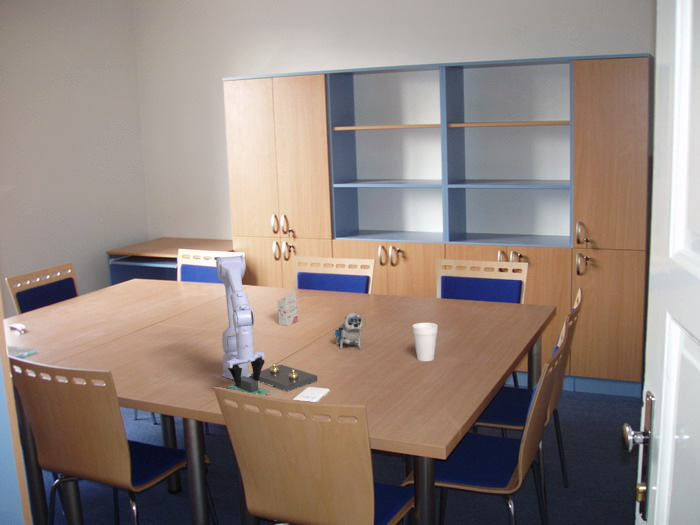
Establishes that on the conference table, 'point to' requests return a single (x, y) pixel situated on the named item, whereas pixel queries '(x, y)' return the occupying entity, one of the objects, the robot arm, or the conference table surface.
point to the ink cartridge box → (288, 309)
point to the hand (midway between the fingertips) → (247, 383)
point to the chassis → (285, 377)
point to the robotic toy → (350, 330)
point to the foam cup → (425, 340)
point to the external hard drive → (312, 394)
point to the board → (260, 390)
